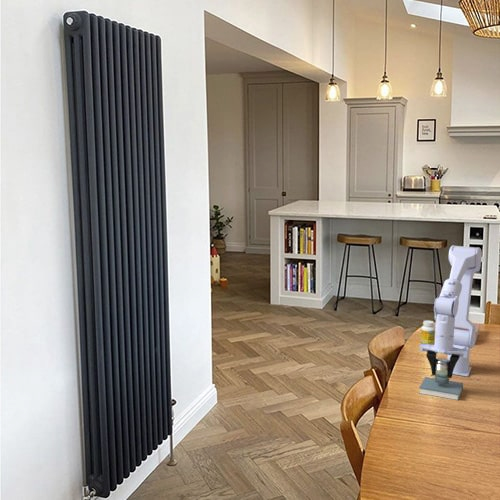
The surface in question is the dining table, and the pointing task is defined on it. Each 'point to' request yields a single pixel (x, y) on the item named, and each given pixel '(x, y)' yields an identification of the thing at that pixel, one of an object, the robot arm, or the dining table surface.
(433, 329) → the supplement bottle
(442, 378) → the tea tin
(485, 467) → the dining table surface
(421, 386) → the hardcover book
